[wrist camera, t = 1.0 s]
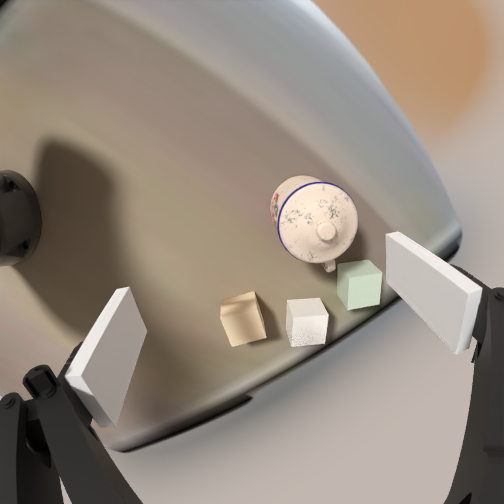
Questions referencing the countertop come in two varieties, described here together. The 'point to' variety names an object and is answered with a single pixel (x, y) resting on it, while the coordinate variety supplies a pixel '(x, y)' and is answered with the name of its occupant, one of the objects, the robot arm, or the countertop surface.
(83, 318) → the countertop surface
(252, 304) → the maple cube
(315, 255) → the teacup with lid
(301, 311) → the white painted cube
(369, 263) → the sage painted cube
